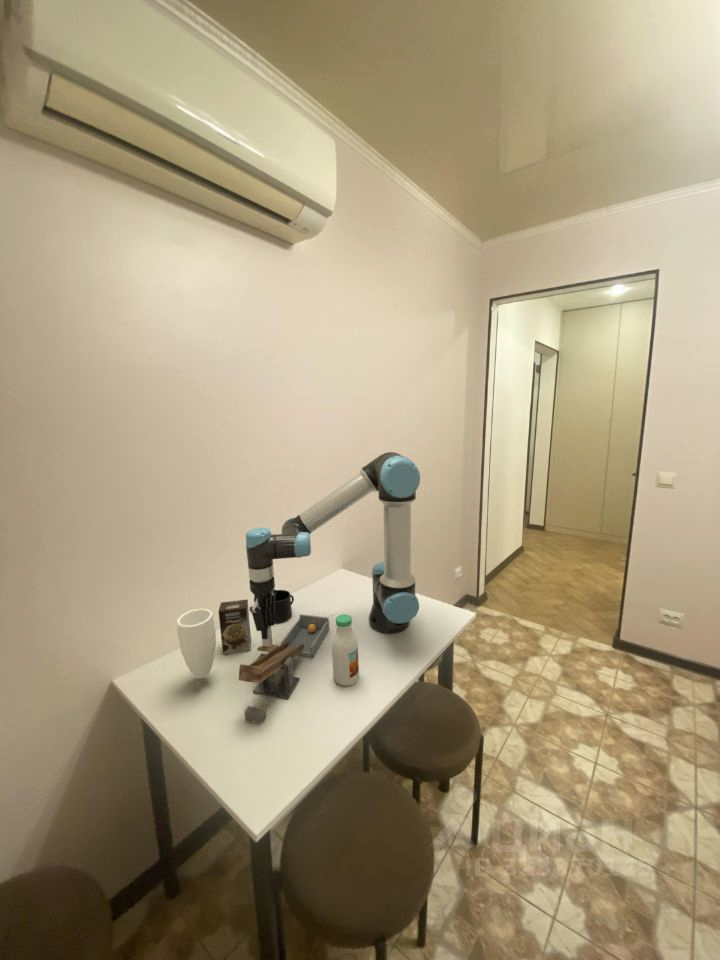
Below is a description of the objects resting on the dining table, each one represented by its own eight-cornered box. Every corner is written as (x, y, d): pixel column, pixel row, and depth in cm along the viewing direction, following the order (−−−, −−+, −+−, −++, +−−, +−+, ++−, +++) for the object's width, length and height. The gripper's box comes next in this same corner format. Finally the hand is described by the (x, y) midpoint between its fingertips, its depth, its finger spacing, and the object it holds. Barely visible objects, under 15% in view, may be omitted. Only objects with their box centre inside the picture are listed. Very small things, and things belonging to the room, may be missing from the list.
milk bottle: (341, 691, 111) (338, 628, 107) (329, 675, 118) (325, 616, 114) (364, 680, 115) (361, 619, 111) (350, 665, 122) (348, 608, 118)
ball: (313, 628, 137) (315, 635, 139) (316, 622, 140) (317, 628, 141) (305, 627, 138) (307, 634, 139) (308, 621, 141) (310, 627, 142)
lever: (303, 654, 125) (304, 638, 125) (259, 688, 98) (261, 668, 98) (265, 648, 128) (266, 633, 129) (213, 679, 101) (214, 660, 102)
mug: (301, 613, 153) (300, 592, 151) (276, 626, 145) (275, 604, 143) (287, 605, 159) (285, 585, 158) (262, 617, 151) (260, 596, 149)
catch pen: (329, 630, 141) (328, 617, 140) (312, 658, 126) (311, 644, 125) (301, 626, 144) (300, 614, 143) (281, 653, 129) (280, 640, 128)
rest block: (266, 717, 103) (265, 709, 102) (262, 723, 101) (261, 715, 100) (249, 714, 104) (248, 706, 103) (245, 720, 102) (244, 711, 102)
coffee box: (222, 655, 129) (217, 611, 126) (225, 644, 135) (220, 601, 132) (250, 651, 131) (246, 607, 127) (251, 640, 137) (247, 598, 134)
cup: (185, 675, 120) (176, 612, 116) (220, 666, 124) (213, 604, 119) (183, 698, 110) (173, 630, 106) (222, 687, 114) (214, 621, 110)
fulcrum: (299, 680, 116) (297, 652, 114) (288, 699, 109) (285, 670, 107) (266, 674, 119) (264, 647, 117) (253, 693, 111) (250, 665, 110)
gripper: (261, 567, 127) (267, 632, 132) (239, 586, 115) (246, 656, 119) (282, 569, 125) (287, 635, 130) (262, 588, 113) (268, 660, 117)
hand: (267, 645), depth 125 cm, fingers closed
